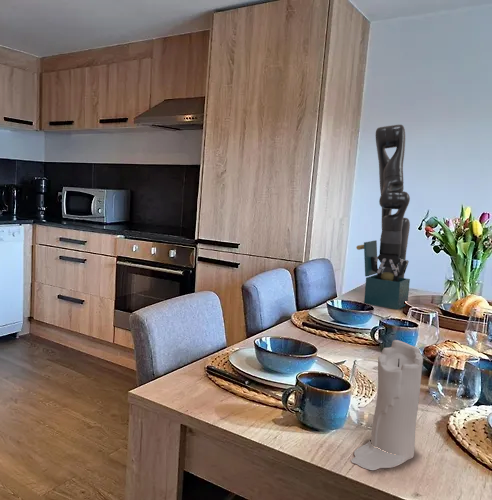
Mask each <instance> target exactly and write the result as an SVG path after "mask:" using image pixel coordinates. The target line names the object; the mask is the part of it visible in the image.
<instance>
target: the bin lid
mask: <svg viewBox="0 0 492 500" xmlns="http://www.w3.org/2000/svg"><path fill="white" fill-rule="evenodd" d="M356 250H358V251H360V250H363V256H364V258H363V259H364V276H365V277H370V276H373V275H376V274H377V273H376V272H375V271H373V270H372V263H371V257H374V256H375V257H378V243H377V240H370V241H363V244H359V245H357V246H356ZM377 267H378V268H379V265H377Z"/></svg>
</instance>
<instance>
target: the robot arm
mask: <svg viewBox="0 0 492 500" xmlns="http://www.w3.org/2000/svg"><path fill="white" fill-rule="evenodd" d="M375 145H376V151H377V152H376V153H377V159H378V175H379V179H378V180H379V191H380V197H379V201H378V202H379V206H380V208H381V233H380V238H379V241H380V243H379V254H378V255H377V257H375V256H374V257H371V263H372V270H373V271H375V272H376V273H377V279H381V274H382V273H383V272H390V273H393V274H394V275H395V276H394V280H393V281H395V282H399V278H405V274H406V271H407V268H408V265H409V262H410V261H409V260H408V259H407V258H406V257H407V249H408V244H409V243H408V242H409V235H410V229H411V222H410V219H409V218H408V217H405V214H406V211H407V209H408V206H409V204H410V201H411V197H410V194H409V193H408V192H407V191H405V190H404V161H405V152H406V129H405V127H404V125H403V124H392V125H385V126H380V127H377V128H376V130H375ZM393 148H394V149H395V148H396V149H395V151H394V153H393V155H391V158H390V157H389V156H388V153H387V151H386V149H393ZM393 210H396V212H395V213H393V214H392V212H393ZM378 261H379V263H380V264H379V265H378ZM377 266H378V267H377ZM381 280H382V279H381Z"/></svg>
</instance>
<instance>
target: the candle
mask: <svg viewBox="0 0 492 500" xmlns="http://www.w3.org/2000/svg"><path fill="white" fill-rule="evenodd" d="M423 364H424V357H423V355H422V354H421V350H420V348H419V347H418V346H415V345H411V344H410V343H407V342H404V341H402V340H398V339H394V340H392V342H391V346H389V347H383V349H382V350H381V353H380V354H379V356H378V357H377V392H376V393H377V394H376V402H375V408H374V413H373V418H372V424H371V433H370V438H369V441H368V442H366V443H365V444H363V445H361V446H359V447H357V449H355V450H354V452H353V455H354V457H353V458H351V459H350V461H351V464H355V465H357V466H359V467H361V468H363V469H366V470H369V471H376V470H379V469H392V468H395V467H398V466H401V465H402V464H404V463H405V462H407V461H409V460H411V459H413V457H414V456H415V448H416V431H417V429H416V428H417V418H418V410H419V402H420V393H421V386H422V385H421V384H422V373H423ZM370 440H371V442H372V444H371V442H370ZM372 445H373V446H375V447H378V448H380V449H381V450H380V449H378V448H374V447H373V446H372ZM382 450H384V451H386V452H384V451H382ZM387 452H388V453H387ZM390 453H392V454H390ZM394 454H396V455H394Z"/></svg>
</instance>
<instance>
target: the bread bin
mask: <svg viewBox="0 0 492 500" xmlns="http://www.w3.org/2000/svg"><path fill="white" fill-rule="evenodd" d="M410 282H411V279H410V278H405V277H404V278H399V282H395V281H388V280H381V279H377V274H374V275H370V276H365V286H364V298H363V304H364V303H366V304H365V305H369V306H370V305H371V306H374V307H375V306H376V307H381V308H387V309H391V310H400V309H402V308H404V307H407V306H406V304H404V302H405V301H408V302H409V293H410Z"/></svg>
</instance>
